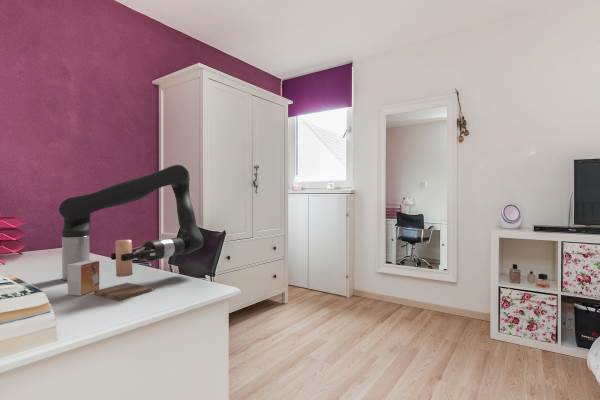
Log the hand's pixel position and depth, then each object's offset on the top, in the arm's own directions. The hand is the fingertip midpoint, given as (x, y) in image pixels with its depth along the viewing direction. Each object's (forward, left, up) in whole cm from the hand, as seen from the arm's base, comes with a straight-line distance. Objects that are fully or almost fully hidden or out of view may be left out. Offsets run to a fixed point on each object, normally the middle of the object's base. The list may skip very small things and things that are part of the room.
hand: (116, 257), depth 110 cm
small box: (-13, -4, -13) cm, 19 cm away
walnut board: (0, +2, -13) cm, 13 cm away
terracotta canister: (0, +3, -7) cm, 7 cm away
